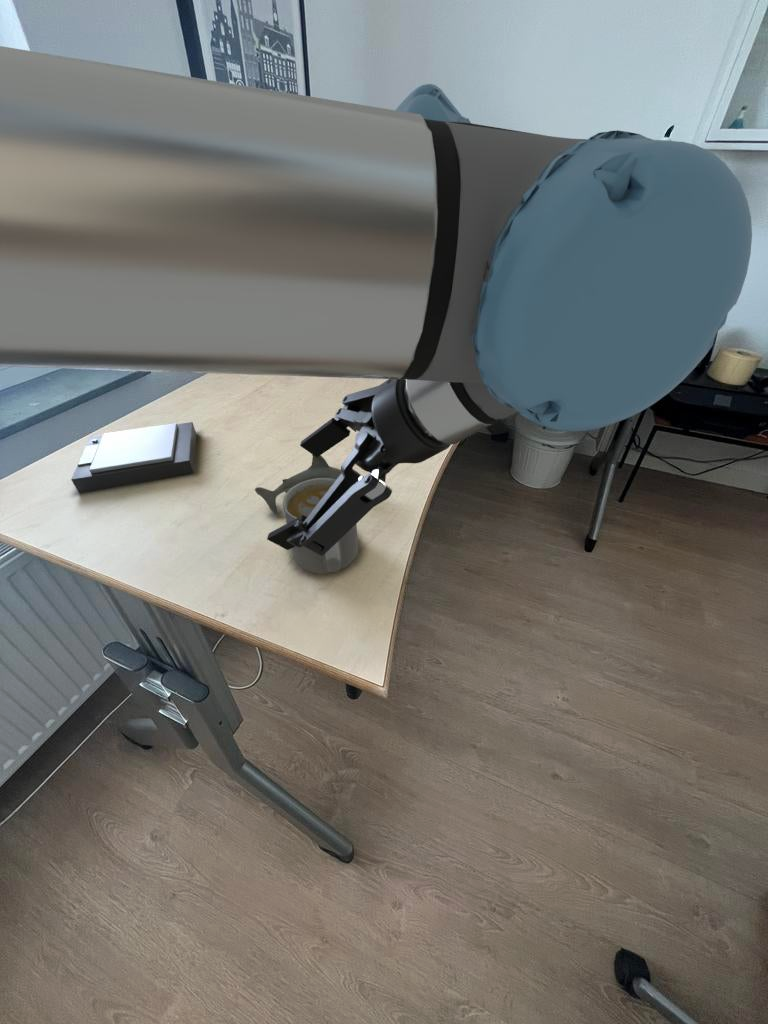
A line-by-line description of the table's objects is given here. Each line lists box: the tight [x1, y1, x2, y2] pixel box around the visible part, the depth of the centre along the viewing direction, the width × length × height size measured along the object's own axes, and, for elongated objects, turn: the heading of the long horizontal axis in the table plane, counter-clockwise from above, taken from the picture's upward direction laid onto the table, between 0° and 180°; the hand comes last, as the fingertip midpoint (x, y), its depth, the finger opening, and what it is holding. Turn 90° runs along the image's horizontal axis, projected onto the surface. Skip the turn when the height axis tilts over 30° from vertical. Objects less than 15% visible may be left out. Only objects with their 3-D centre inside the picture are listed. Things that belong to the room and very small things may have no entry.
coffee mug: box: [282, 478, 359, 575], centre depth 62 cm, size 13×10×10 cm
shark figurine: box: [254, 454, 342, 517], centre depth 75 cm, size 14×17×8 cm
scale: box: [70, 421, 197, 494], centre depth 86 cm, size 20×16×4 cm
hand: (294, 492), depth 51 cm, fingers open, 13 cm apart
